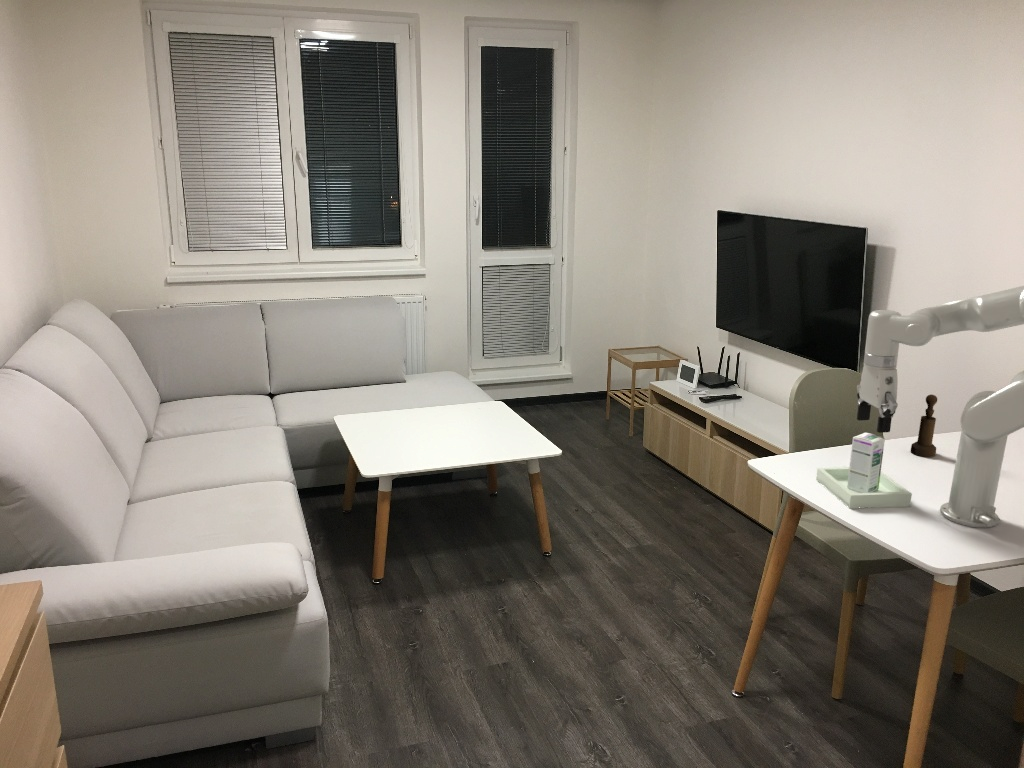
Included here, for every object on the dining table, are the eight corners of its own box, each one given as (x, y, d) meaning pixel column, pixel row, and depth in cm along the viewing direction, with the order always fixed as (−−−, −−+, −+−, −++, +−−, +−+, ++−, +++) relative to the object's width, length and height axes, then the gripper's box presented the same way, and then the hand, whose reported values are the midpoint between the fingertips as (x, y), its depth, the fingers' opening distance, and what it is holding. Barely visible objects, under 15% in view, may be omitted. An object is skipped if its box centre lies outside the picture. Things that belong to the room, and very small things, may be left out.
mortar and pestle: (930, 450, 245) (939, 392, 240) (938, 458, 238) (948, 398, 233) (907, 449, 245) (916, 391, 240) (915, 456, 239) (924, 397, 234)
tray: (909, 506, 206) (911, 493, 205) (849, 508, 204) (850, 495, 203) (872, 478, 223) (874, 466, 222) (816, 480, 221) (817, 468, 220)
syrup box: (867, 495, 209) (874, 442, 205) (845, 488, 214) (852, 435, 210) (878, 490, 213) (886, 437, 209) (857, 482, 217) (864, 431, 213)
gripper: (914, 368, 196) (906, 436, 200) (876, 351, 212) (869, 415, 217) (884, 369, 195) (876, 437, 199) (848, 352, 211) (842, 416, 216)
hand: (872, 425), depth 208 cm, fingers open, 9 cm apart
